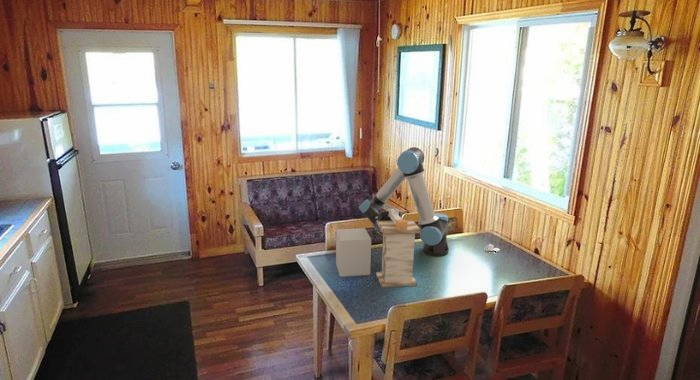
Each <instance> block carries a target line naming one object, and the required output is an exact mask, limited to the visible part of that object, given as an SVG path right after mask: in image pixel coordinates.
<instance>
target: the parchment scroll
mask: <svg viewBox="0 0 700 380" xmlns="http://www.w3.org/2000/svg"><path fill="white" fill-rule="evenodd" d="M405 220H406V221H407V222H408V225H407V230H398V229H397V228H396V225H395V223H394V222H393V221H392V220H391V221H378V226H379V227H380V229H381V230H380V231H381V232H382V257H381V271H376V272H375V276H376V278H377V279H378V283H379V285H380V287H381V288H397V287H399V288H400V287H412V286H418V282H417V280H416V279H415V277H414V274H413V273H414V259H415V255H414V254H415V243H416V241H415V240H416V234H420V232H421V229H420V226H419V225H417V223H416V222H415V221H414V220H413V219H405Z"/></svg>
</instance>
